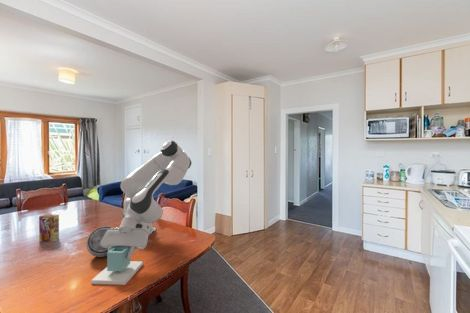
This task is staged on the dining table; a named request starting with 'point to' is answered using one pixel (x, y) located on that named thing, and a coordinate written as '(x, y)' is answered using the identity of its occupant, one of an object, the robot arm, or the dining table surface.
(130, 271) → the board
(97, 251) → the decorative orb
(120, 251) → the teal square hollow box
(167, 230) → the dining table surface
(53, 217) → the candy box
